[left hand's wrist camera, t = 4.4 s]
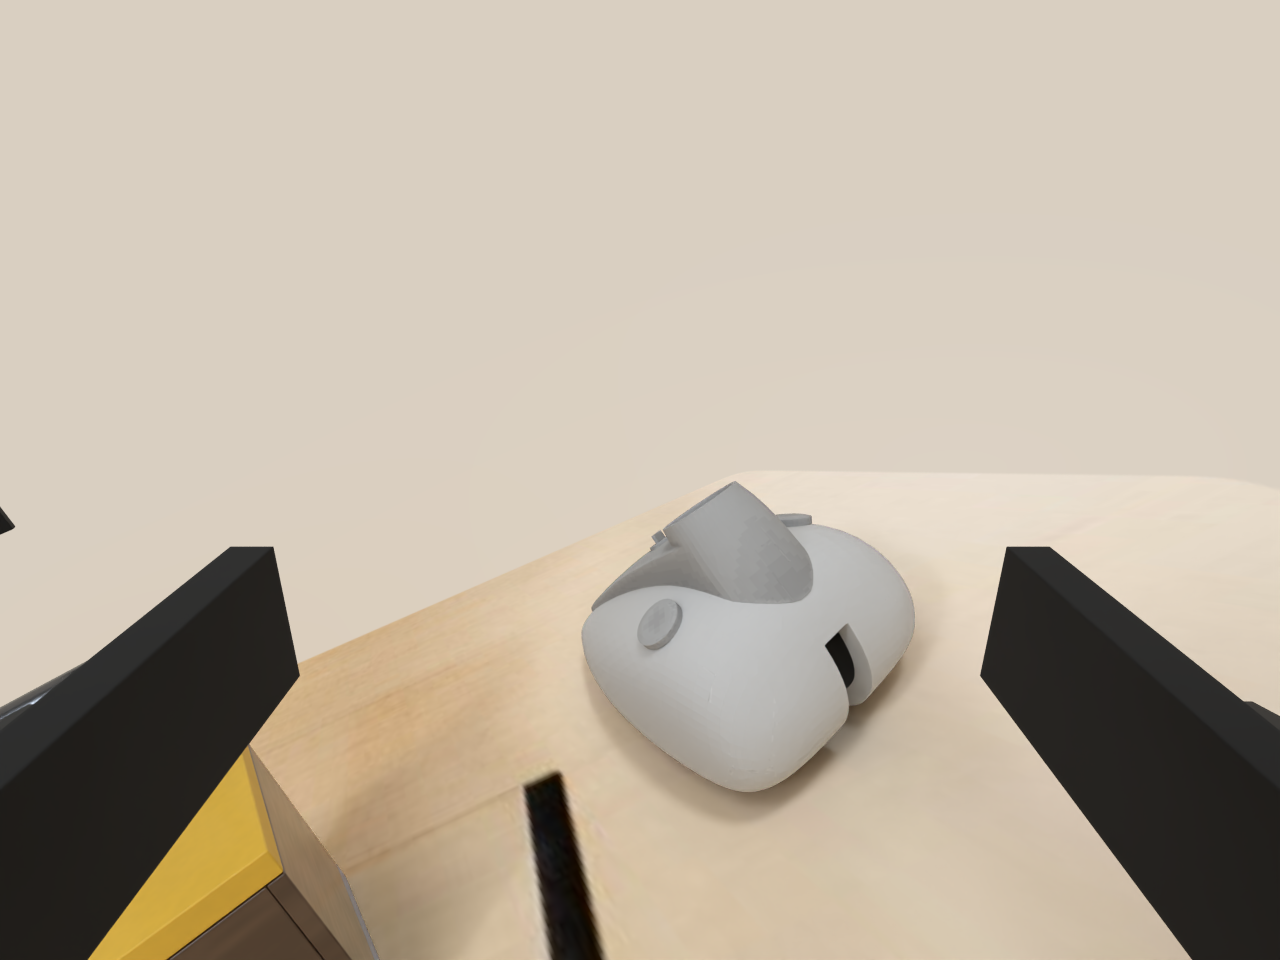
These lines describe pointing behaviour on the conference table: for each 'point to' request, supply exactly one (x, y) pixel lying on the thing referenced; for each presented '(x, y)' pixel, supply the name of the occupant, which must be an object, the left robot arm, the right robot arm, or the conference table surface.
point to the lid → (193, 865)
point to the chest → (289, 901)
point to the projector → (747, 637)
